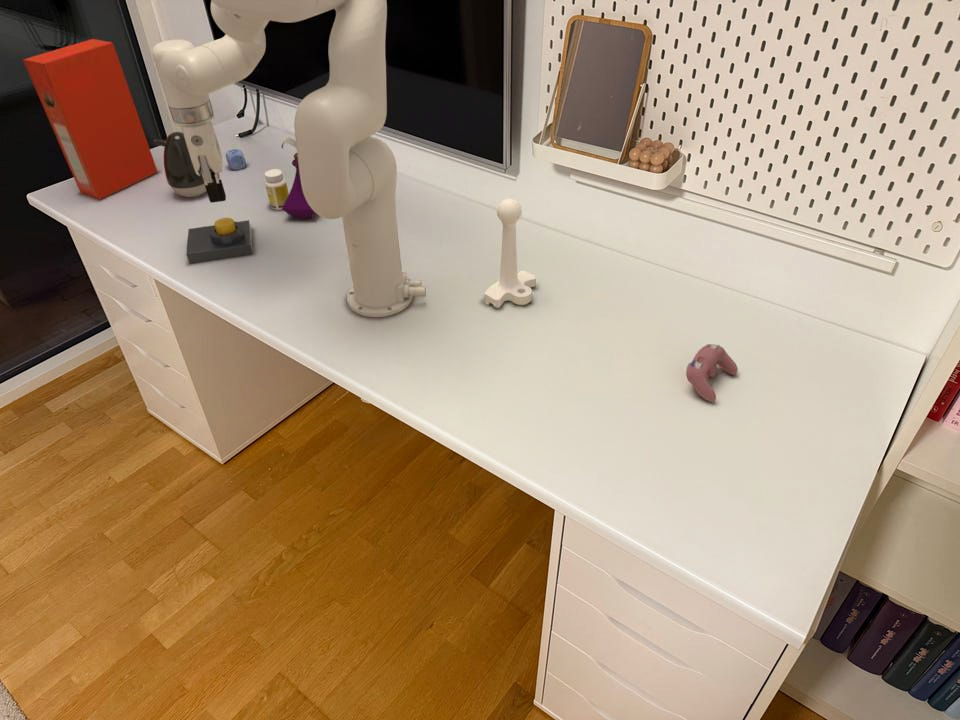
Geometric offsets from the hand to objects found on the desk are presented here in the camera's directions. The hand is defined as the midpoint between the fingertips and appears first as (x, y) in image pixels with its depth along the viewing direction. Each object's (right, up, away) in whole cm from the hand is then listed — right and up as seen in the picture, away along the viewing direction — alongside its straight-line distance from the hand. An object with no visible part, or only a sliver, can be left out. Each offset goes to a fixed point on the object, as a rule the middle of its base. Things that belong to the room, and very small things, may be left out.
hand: (218, 199), depth 143 cm
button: (0, -5, +5) cm, 7 cm away
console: (-2, -8, +8) cm, 12 cm away
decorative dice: (-10, +18, +39) cm, 44 cm away
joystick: (+61, -21, -9) cm, 65 cm away
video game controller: (+92, -37, -29) cm, 103 cm away
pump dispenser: (-17, +8, +28) cm, 34 cm away
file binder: (-37, +12, +33) cm, 51 cm away
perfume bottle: (+13, +1, +18) cm, 23 cm away
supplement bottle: (+7, +4, +22) cm, 23 cm away
